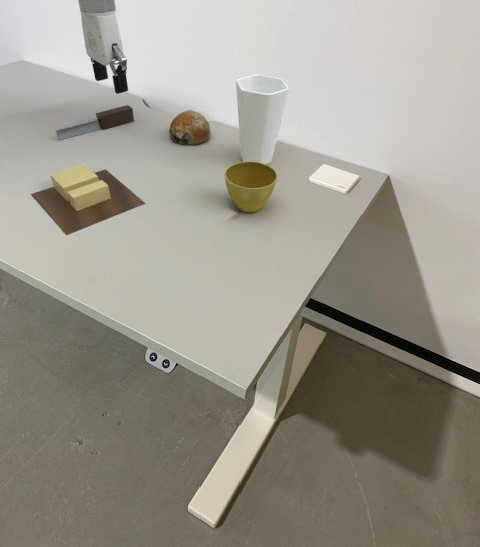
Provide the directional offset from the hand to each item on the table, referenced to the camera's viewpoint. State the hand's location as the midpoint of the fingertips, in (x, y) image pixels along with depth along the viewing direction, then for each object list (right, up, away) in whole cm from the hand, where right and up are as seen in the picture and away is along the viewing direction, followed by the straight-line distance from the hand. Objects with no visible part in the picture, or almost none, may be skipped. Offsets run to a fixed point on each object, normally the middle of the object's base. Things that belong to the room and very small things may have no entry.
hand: (111, 85), depth 102 cm
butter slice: (+3, -32, -21) cm, 39 cm away
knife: (-5, -9, +4) cm, 11 cm away
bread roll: (+19, -12, +3) cm, 22 cm away
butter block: (-1, -29, -18) cm, 34 cm away
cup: (+35, -19, -3) cm, 40 cm away
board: (+2, -32, -20) cm, 38 cm away
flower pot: (+33, -32, -17) cm, 49 cm away
